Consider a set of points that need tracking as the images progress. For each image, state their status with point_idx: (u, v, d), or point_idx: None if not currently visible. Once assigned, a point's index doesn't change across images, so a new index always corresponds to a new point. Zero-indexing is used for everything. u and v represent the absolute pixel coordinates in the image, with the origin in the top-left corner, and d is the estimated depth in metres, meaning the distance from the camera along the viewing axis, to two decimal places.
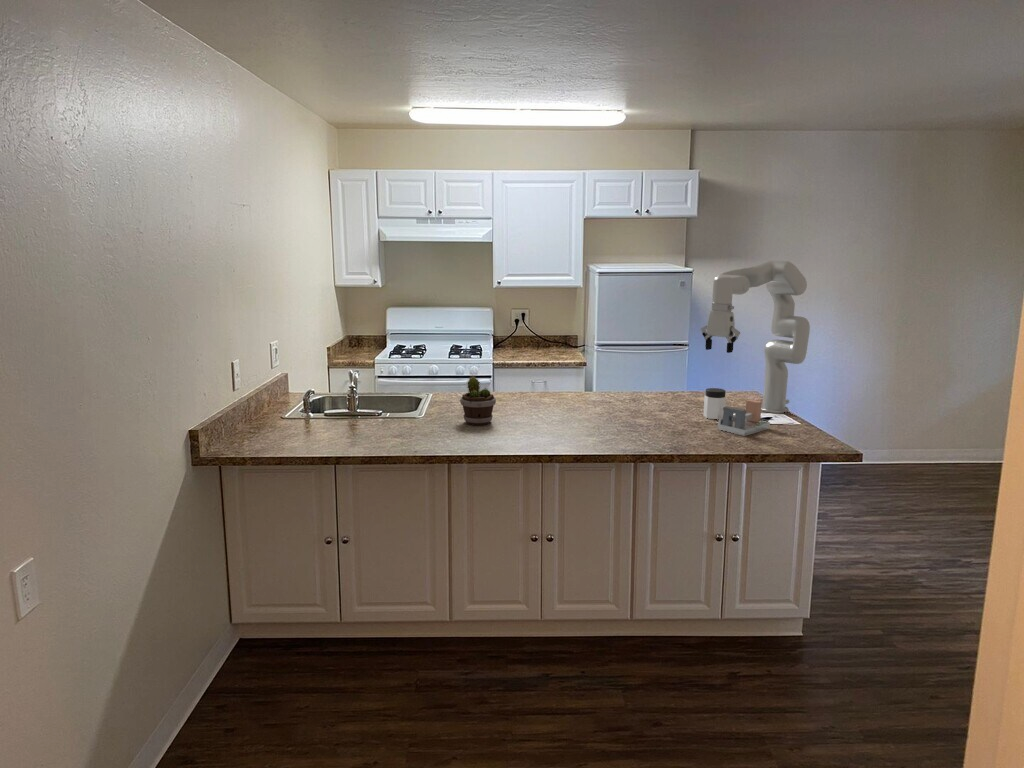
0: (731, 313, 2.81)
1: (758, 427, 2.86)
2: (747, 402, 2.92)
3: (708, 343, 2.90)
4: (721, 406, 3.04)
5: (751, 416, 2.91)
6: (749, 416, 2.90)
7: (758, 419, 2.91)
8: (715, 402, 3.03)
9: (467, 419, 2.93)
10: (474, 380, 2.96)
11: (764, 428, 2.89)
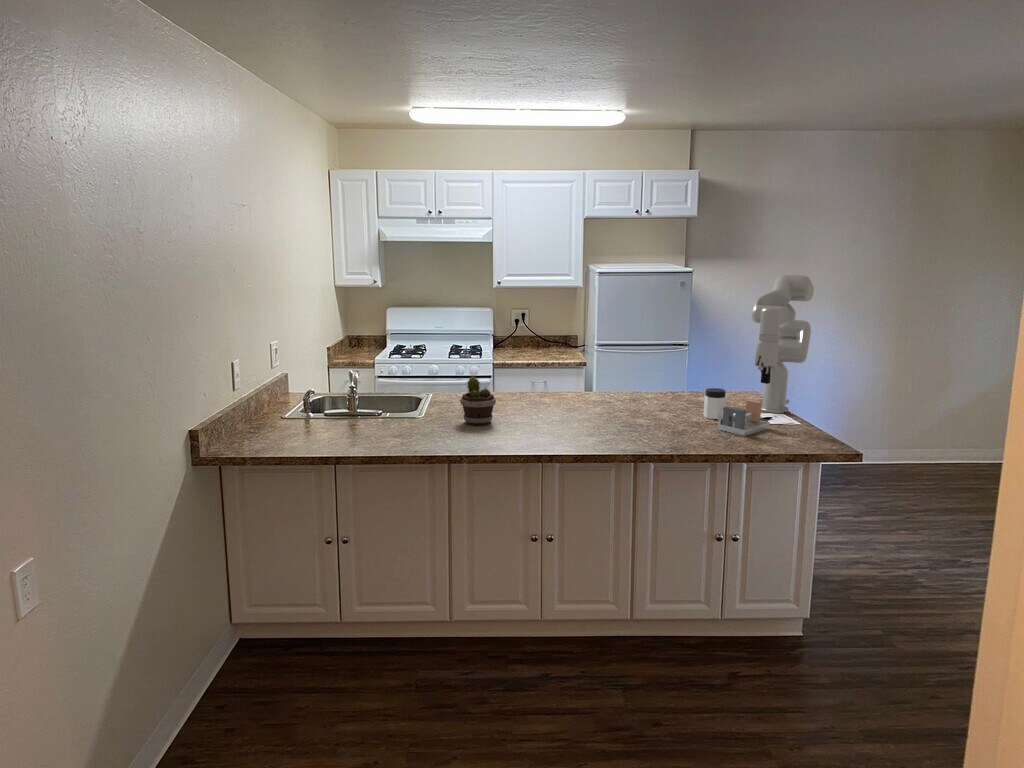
0: None
1: (758, 427, 2.86)
2: (747, 402, 2.92)
3: None
4: (721, 406, 3.04)
5: (751, 416, 2.91)
6: (749, 416, 2.90)
7: (758, 419, 2.91)
8: (715, 402, 3.03)
9: (467, 419, 2.93)
10: (474, 380, 2.96)
11: (764, 428, 2.89)
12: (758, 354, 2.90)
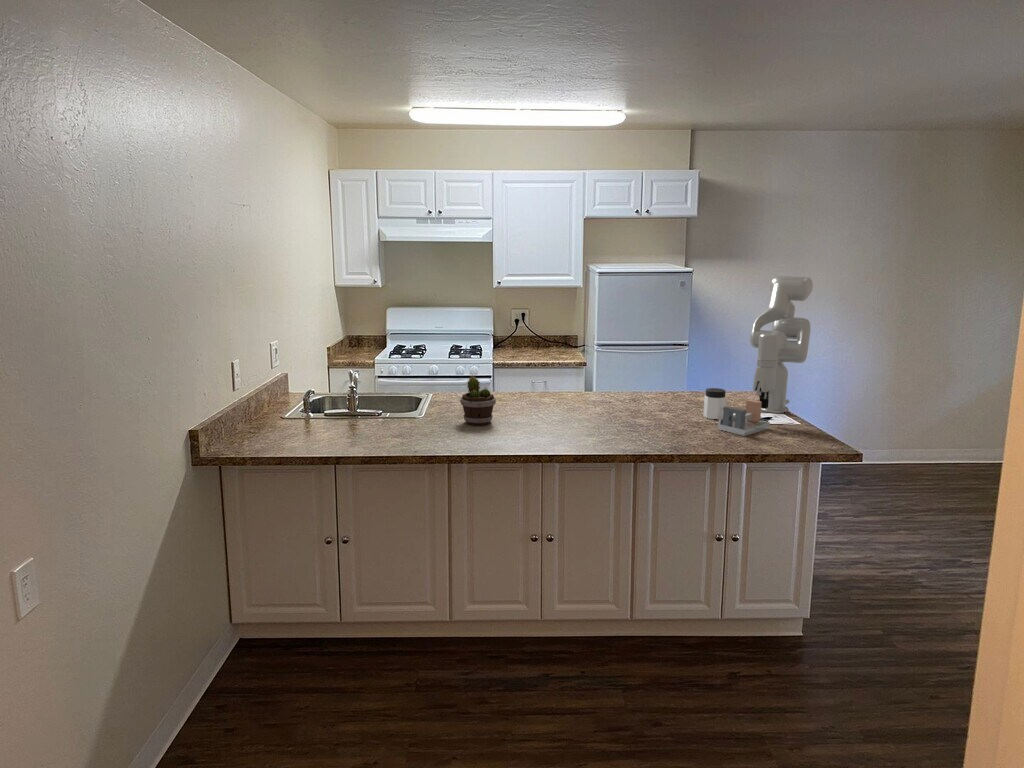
0: None
1: (758, 427, 2.86)
2: (747, 402, 2.92)
3: None
4: (721, 406, 3.04)
5: (751, 416, 2.91)
6: (749, 416, 2.90)
7: (758, 419, 2.91)
8: (715, 402, 3.03)
9: (467, 419, 2.93)
10: (474, 380, 2.96)
11: (764, 428, 2.89)
12: (756, 379, 2.92)
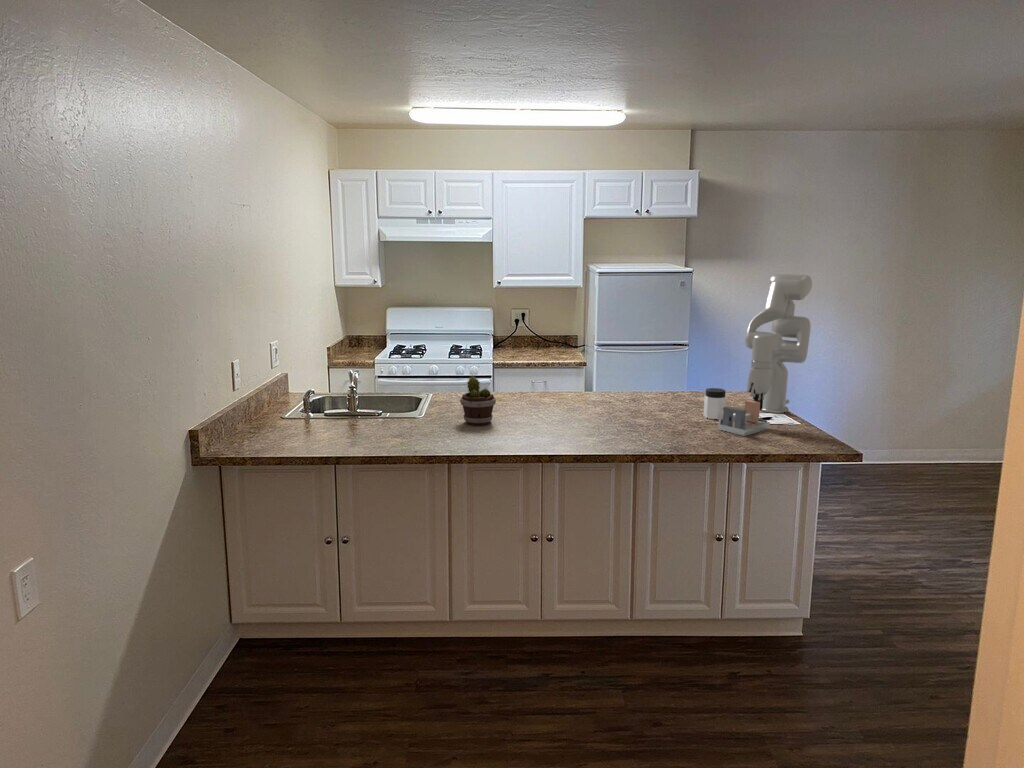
0: None
1: (758, 427, 2.86)
2: (746, 402, 2.92)
3: None
4: (721, 406, 3.04)
5: (750, 416, 2.90)
6: (748, 416, 2.89)
7: (757, 419, 2.91)
8: (715, 402, 3.03)
9: (467, 419, 2.93)
10: (474, 380, 2.96)
11: (764, 428, 2.89)
12: (750, 381, 2.90)
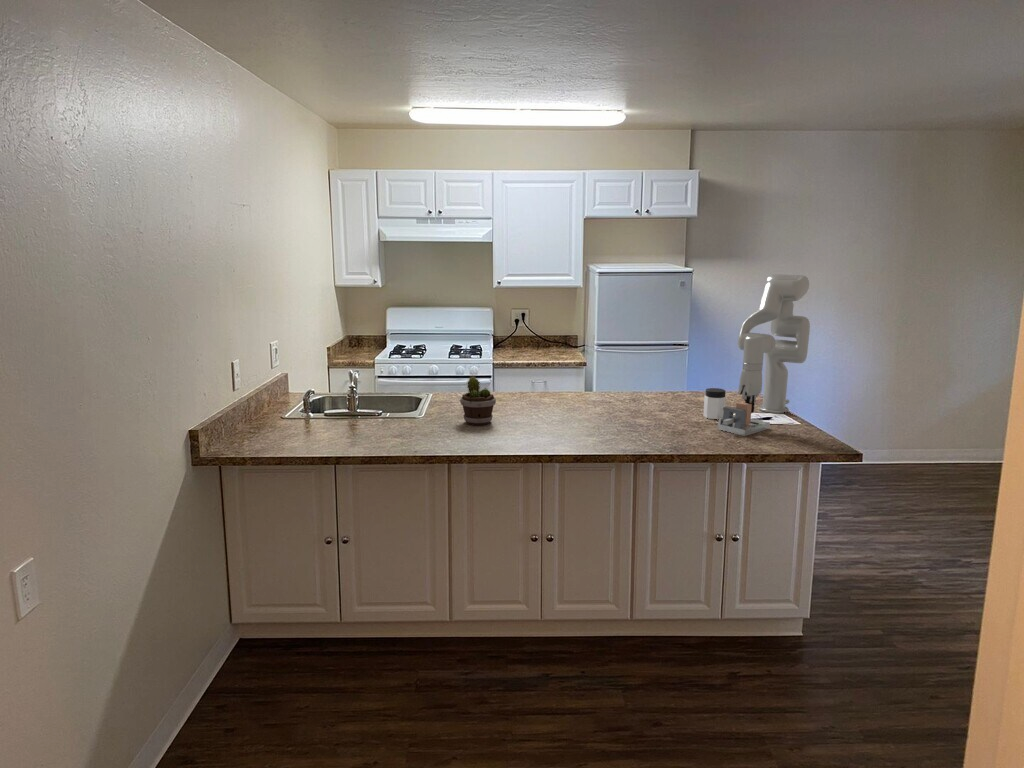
0: None
1: (758, 427, 2.86)
2: (737, 405, 2.88)
3: None
4: (721, 406, 3.04)
5: None
6: None
7: (748, 422, 2.87)
8: (715, 402, 3.03)
9: (467, 419, 2.93)
10: (474, 380, 2.96)
11: (764, 428, 2.89)
12: (742, 383, 2.86)
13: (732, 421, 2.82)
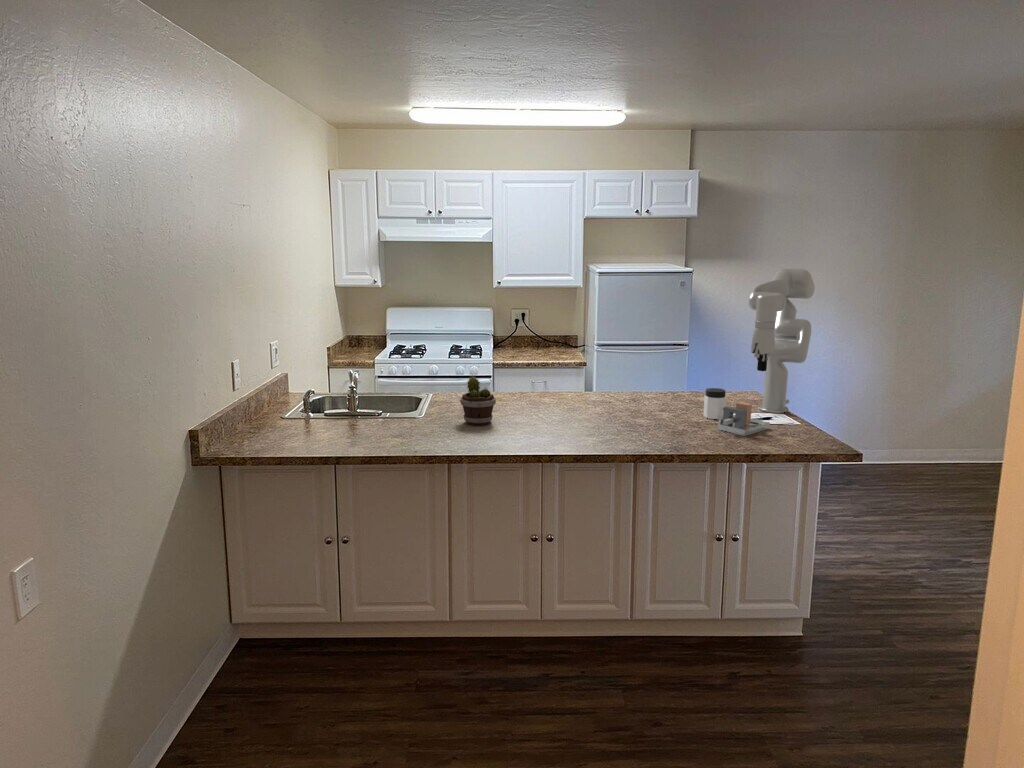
0: None
1: (758, 427, 2.86)
2: (737, 405, 2.88)
3: None
4: (721, 406, 3.04)
5: None
6: None
7: (748, 422, 2.87)
8: (715, 402, 3.03)
9: (467, 419, 2.93)
10: (474, 380, 2.96)
11: (764, 428, 2.89)
12: (754, 342, 2.87)
13: (732, 421, 2.82)
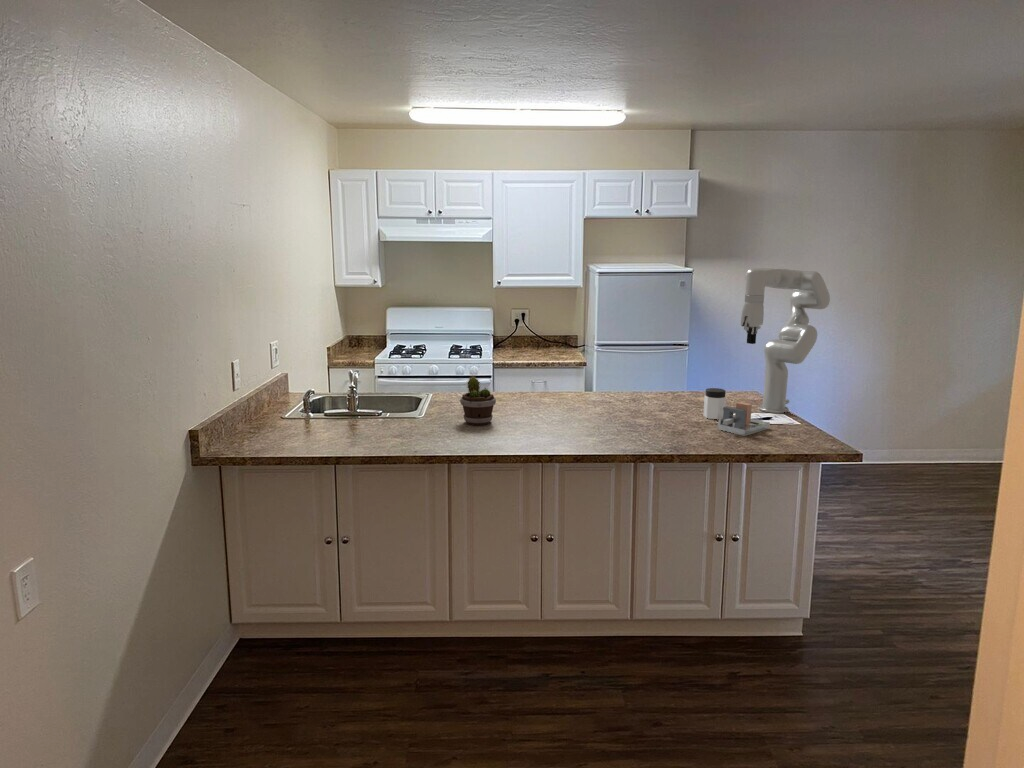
0: None
1: (758, 427, 2.86)
2: (737, 405, 2.88)
3: None
4: (721, 406, 3.04)
5: None
6: None
7: (748, 422, 2.87)
8: (715, 402, 3.03)
9: (467, 419, 2.93)
10: (474, 380, 2.96)
11: (764, 428, 2.89)
12: (744, 315, 2.97)
13: (732, 421, 2.82)
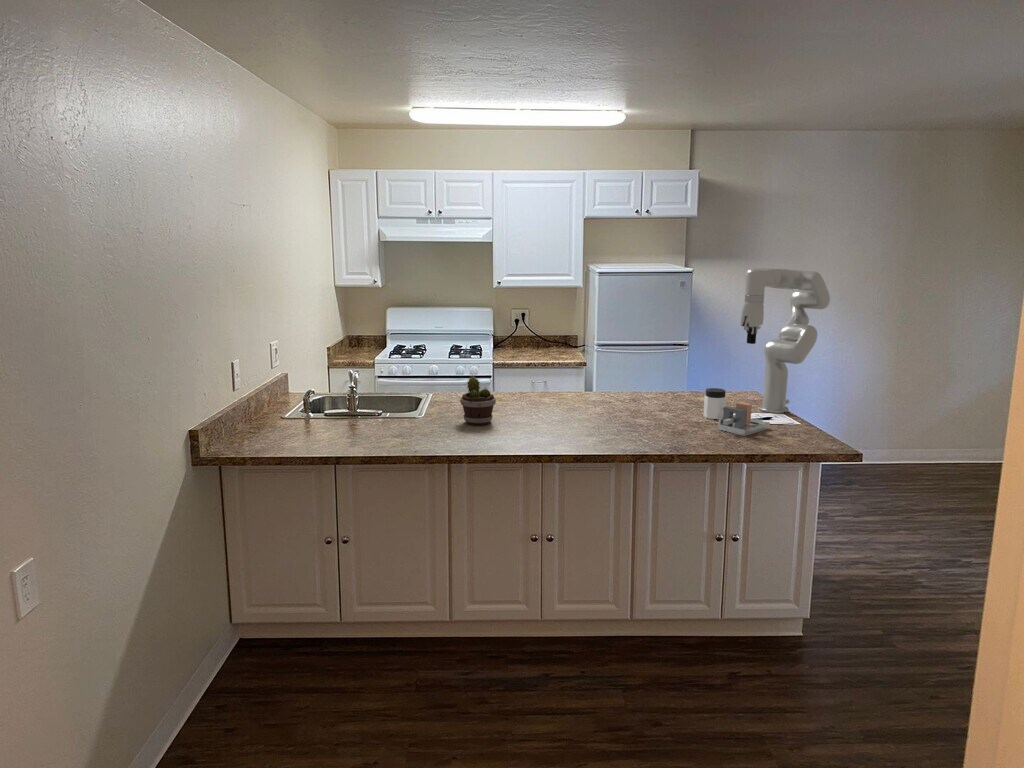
0: None
1: (758, 427, 2.86)
2: (737, 405, 2.88)
3: None
4: (721, 406, 3.04)
5: None
6: None
7: (748, 422, 2.87)
8: (715, 402, 3.03)
9: (467, 419, 2.93)
10: (474, 380, 2.96)
11: (764, 428, 2.89)
12: (744, 315, 2.97)
13: (732, 421, 2.82)
